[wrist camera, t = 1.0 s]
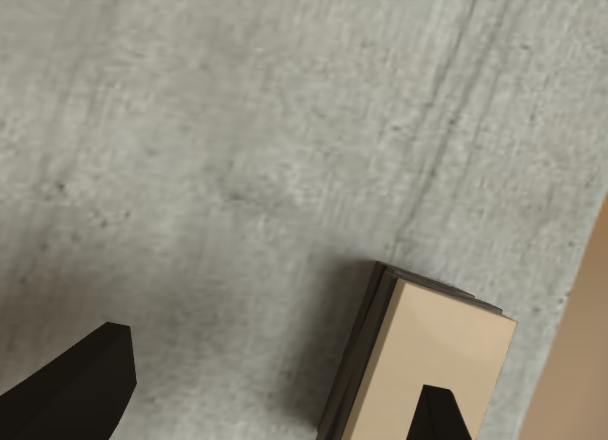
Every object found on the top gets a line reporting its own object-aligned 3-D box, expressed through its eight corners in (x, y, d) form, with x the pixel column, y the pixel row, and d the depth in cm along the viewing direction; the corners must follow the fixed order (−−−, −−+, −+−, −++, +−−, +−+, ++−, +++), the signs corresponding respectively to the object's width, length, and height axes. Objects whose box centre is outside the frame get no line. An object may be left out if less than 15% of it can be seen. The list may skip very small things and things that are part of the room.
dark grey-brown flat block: (424, 497, 22) (436, 522, 20) (323, 465, 22) (325, 488, 20) (486, 302, 22) (503, 309, 20) (384, 270, 22) (391, 275, 20)
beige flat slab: (430, 520, 20) (440, 543, 18) (324, 484, 20) (326, 504, 18) (503, 314, 20) (518, 322, 18) (398, 277, 20) (405, 282, 18)
